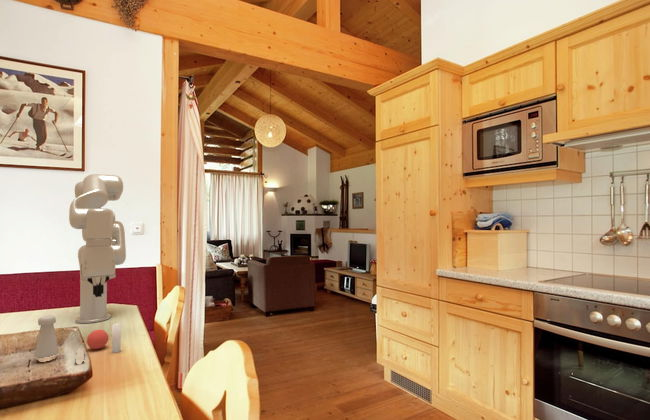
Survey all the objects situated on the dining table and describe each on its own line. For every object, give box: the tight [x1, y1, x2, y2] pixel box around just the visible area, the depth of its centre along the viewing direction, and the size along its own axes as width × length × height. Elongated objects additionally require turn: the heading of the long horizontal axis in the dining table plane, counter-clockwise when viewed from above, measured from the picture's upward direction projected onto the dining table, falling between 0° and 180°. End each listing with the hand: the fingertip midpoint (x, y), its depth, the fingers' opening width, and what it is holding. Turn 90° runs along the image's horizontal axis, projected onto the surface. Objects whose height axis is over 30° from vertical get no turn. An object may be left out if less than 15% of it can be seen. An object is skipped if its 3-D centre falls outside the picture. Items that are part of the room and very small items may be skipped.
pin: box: [111, 322, 122, 354], centre depth 119 cm, size 2×2×9 cm
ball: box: [86, 329, 109, 350], centre depth 122 cm, size 6×6×6 cm
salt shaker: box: [34, 314, 59, 358], centre depth 112 cm, size 6×6×13 cm
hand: (98, 296), depth 131 cm, fingers closed
